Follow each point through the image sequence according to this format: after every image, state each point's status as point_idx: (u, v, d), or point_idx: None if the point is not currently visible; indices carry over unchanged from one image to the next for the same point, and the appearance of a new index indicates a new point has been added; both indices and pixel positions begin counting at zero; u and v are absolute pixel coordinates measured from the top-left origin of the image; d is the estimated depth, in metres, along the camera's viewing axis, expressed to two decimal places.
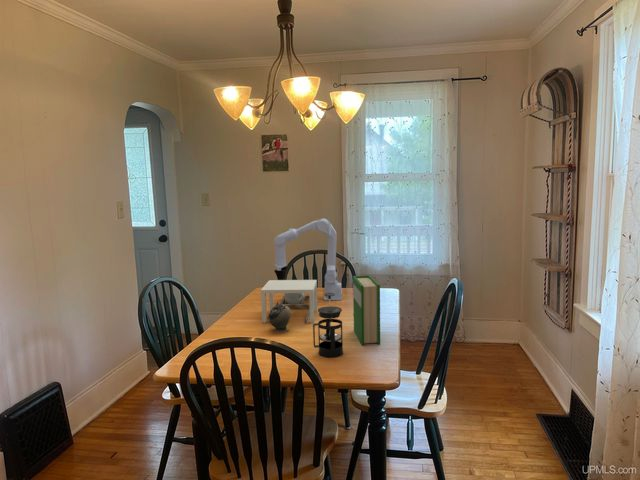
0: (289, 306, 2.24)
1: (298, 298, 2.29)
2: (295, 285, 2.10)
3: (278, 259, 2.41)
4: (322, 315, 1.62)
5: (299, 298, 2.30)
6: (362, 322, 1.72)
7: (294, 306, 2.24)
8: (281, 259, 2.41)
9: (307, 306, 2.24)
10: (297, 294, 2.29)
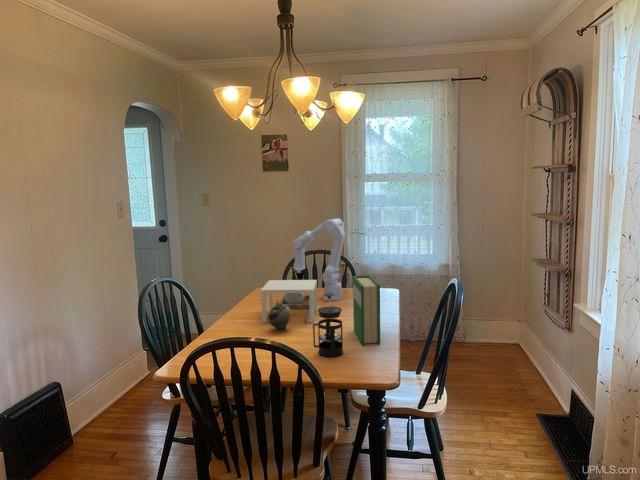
0: (289, 306, 2.24)
1: (298, 298, 2.29)
2: (295, 285, 2.10)
3: (298, 262, 2.49)
4: (322, 315, 1.62)
5: (299, 298, 2.30)
6: (362, 322, 1.72)
7: (294, 306, 2.24)
8: (300, 262, 2.49)
9: (307, 306, 2.24)
10: (297, 294, 2.29)
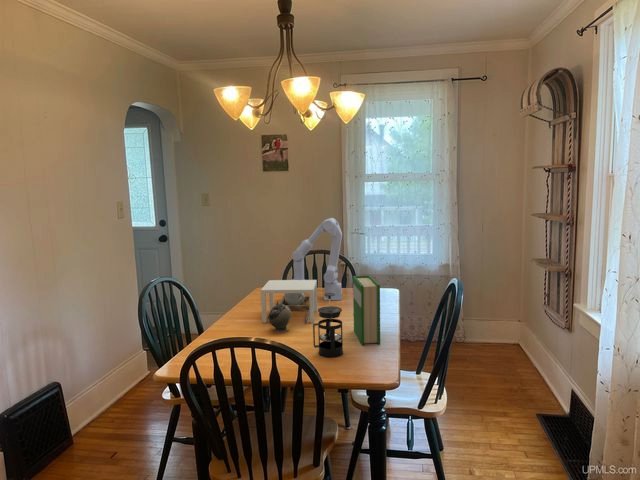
0: (288, 307, 2.23)
1: (298, 298, 2.29)
2: (295, 285, 2.10)
3: (297, 274, 2.44)
4: (322, 315, 1.62)
5: (299, 298, 2.29)
6: (362, 322, 1.72)
7: (294, 307, 2.22)
8: (300, 274, 2.44)
9: (307, 307, 2.22)
10: (297, 294, 2.29)
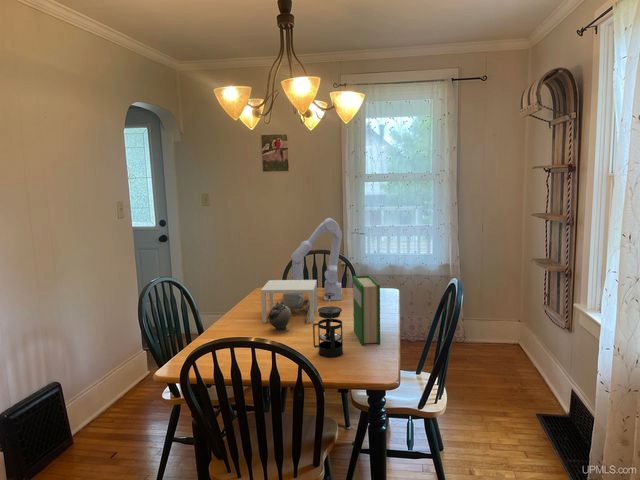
0: None
1: (297, 301, 2.23)
2: (295, 285, 2.10)
3: (295, 276, 2.38)
4: (322, 315, 1.62)
5: (298, 301, 2.23)
6: (362, 322, 1.72)
7: (292, 311, 2.16)
8: (298, 276, 2.38)
9: (305, 311, 2.15)
10: (296, 297, 2.22)
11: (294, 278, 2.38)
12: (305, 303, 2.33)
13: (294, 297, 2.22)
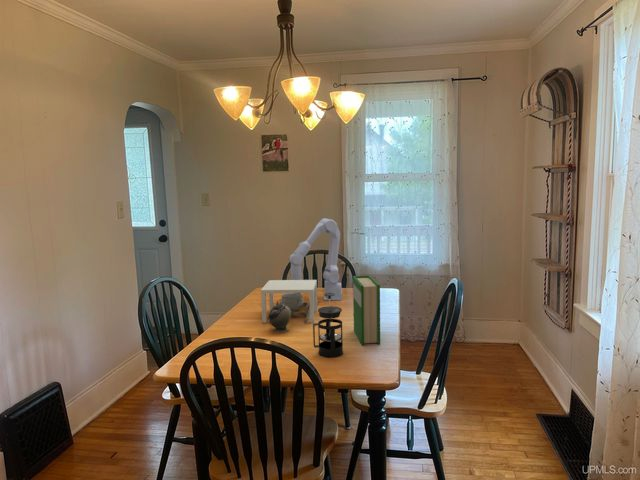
0: None
1: (296, 304, 2.18)
2: (295, 285, 2.10)
3: (294, 278, 2.33)
4: (322, 315, 1.62)
5: (297, 304, 2.18)
6: (362, 322, 1.72)
7: None
8: (297, 279, 2.33)
9: (304, 314, 2.11)
10: (295, 300, 2.18)
11: None
12: (304, 306, 2.28)
13: (293, 300, 2.17)
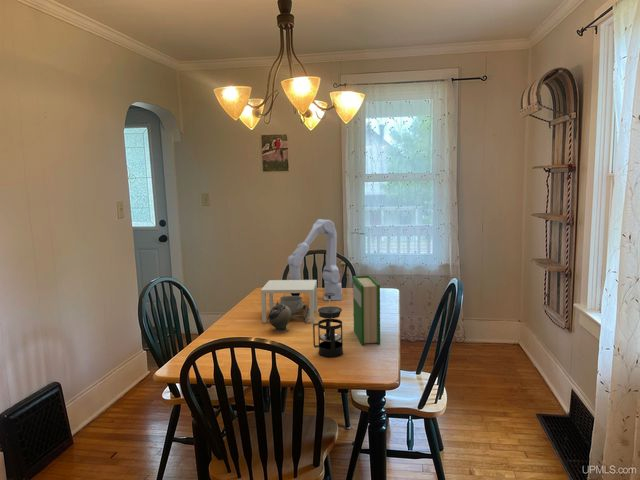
0: None
1: (296, 307, 2.13)
2: (295, 285, 2.10)
3: None
4: (322, 315, 1.62)
5: (297, 307, 2.14)
6: (362, 322, 1.72)
7: None
8: None
9: (303, 317, 2.06)
10: (295, 303, 2.13)
11: None
12: (303, 308, 2.23)
13: (293, 302, 2.12)
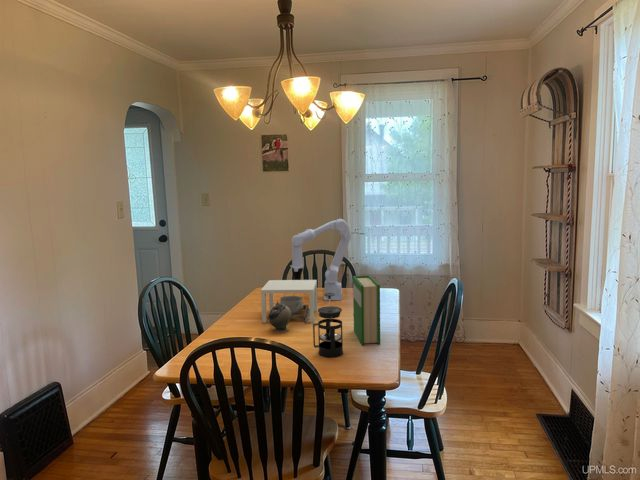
0: None
1: (296, 307, 2.13)
2: (295, 285, 2.10)
3: (295, 260, 2.38)
4: (322, 315, 1.62)
5: (297, 307, 2.14)
6: (362, 322, 1.72)
7: None
8: (298, 260, 2.38)
9: (303, 317, 2.06)
10: (295, 303, 2.13)
11: (294, 261, 2.38)
12: (303, 308, 2.23)
13: (293, 302, 2.12)
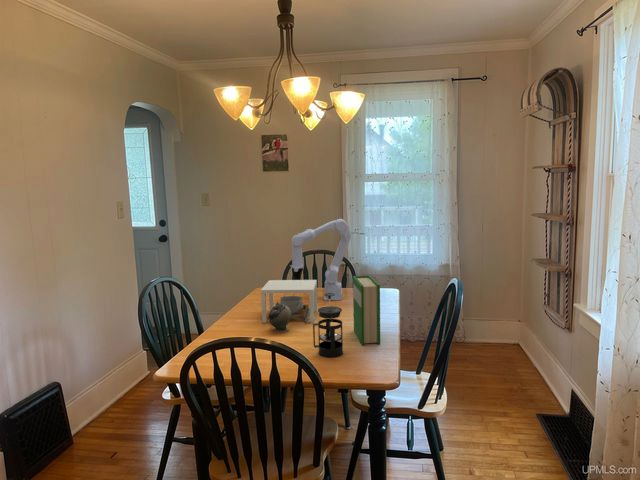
0: None
1: (296, 307, 2.13)
2: (295, 285, 2.10)
3: (295, 260, 2.38)
4: (322, 315, 1.62)
5: (297, 307, 2.14)
6: (362, 322, 1.72)
7: None
8: (298, 260, 2.38)
9: (303, 317, 2.06)
10: (295, 303, 2.13)
11: (294, 261, 2.38)
12: (303, 308, 2.23)
13: (293, 302, 2.12)
